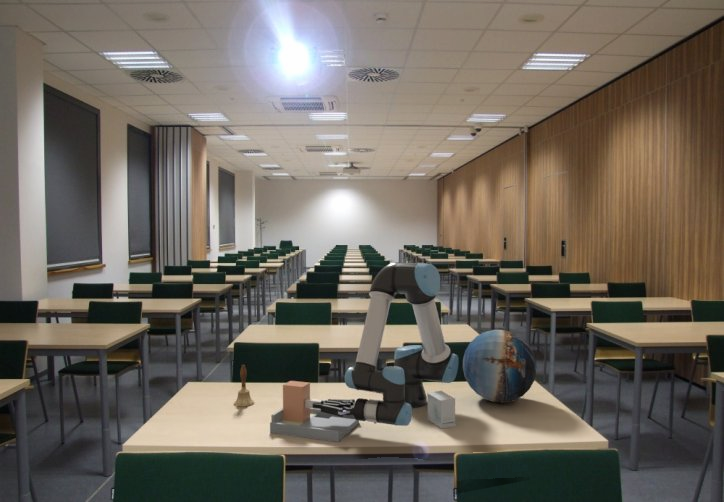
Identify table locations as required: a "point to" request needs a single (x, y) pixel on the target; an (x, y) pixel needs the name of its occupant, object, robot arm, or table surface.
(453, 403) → the skincare box
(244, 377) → the hand bell
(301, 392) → the terracotta brick
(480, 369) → the decorative globe
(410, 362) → the robot arm
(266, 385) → the table surface
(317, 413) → the tray
